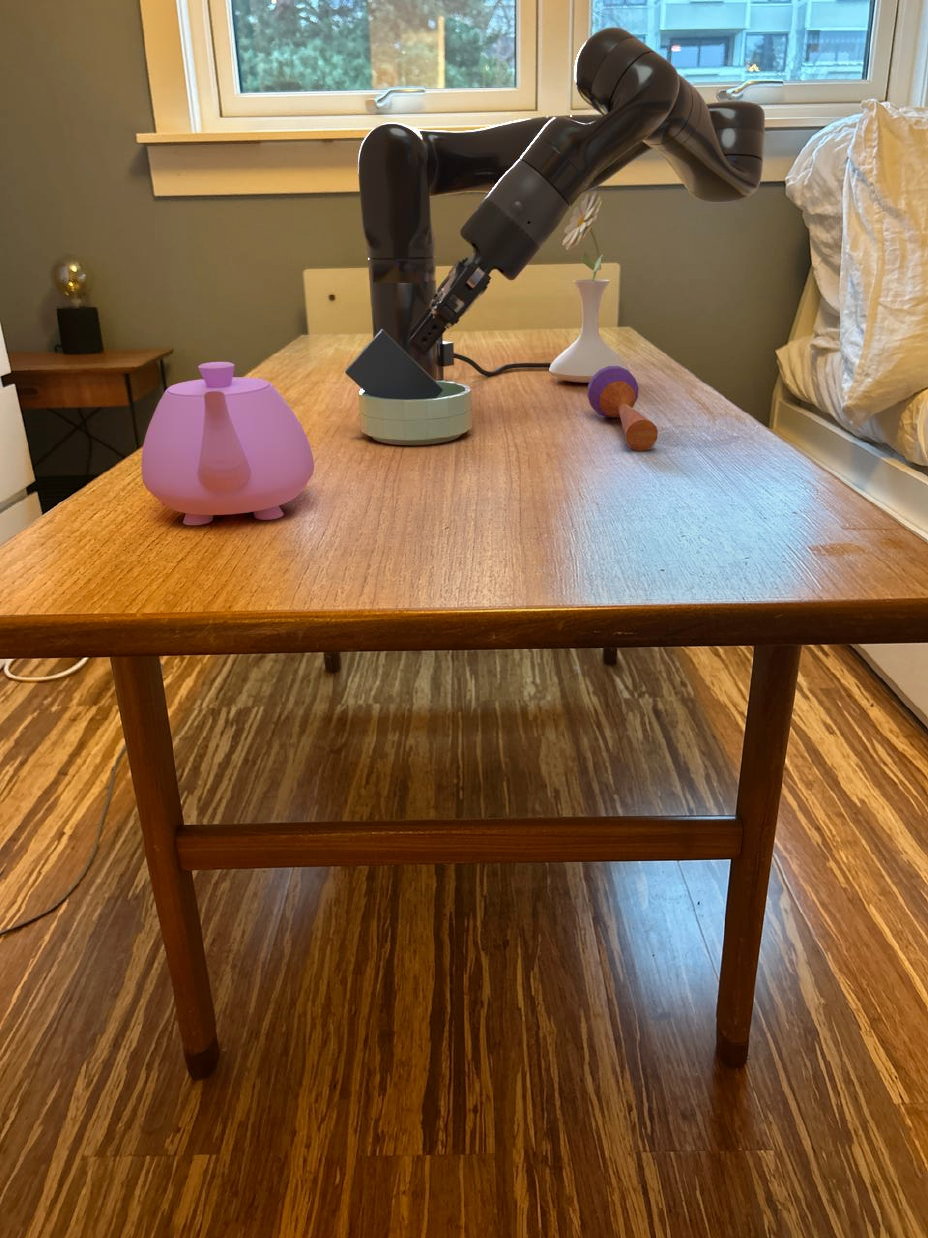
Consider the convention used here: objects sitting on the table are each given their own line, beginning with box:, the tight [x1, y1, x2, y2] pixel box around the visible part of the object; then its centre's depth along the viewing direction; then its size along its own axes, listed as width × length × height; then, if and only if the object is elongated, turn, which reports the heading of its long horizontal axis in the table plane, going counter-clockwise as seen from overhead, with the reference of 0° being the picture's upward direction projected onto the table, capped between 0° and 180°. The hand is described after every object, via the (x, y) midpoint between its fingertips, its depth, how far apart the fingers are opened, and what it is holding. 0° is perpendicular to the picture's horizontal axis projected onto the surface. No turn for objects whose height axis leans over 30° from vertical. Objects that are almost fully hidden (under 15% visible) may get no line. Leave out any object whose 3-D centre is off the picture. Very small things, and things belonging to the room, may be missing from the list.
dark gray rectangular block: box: [344, 329, 443, 400], centre depth 99 cm, size 3×6×9 cm
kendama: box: [586, 366, 659, 452], centre depth 101 cm, size 6×6×20 cm
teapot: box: [140, 361, 315, 526], centre depth 74 cm, size 20×14×12 cm
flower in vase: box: [548, 191, 629, 384], centre depth 125 cm, size 13×11×25 cm
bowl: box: [358, 380, 473, 446], centre depth 101 cm, size 12×12×5 cm
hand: (415, 344), depth 98 cm, fingers open, 8 cm apart
